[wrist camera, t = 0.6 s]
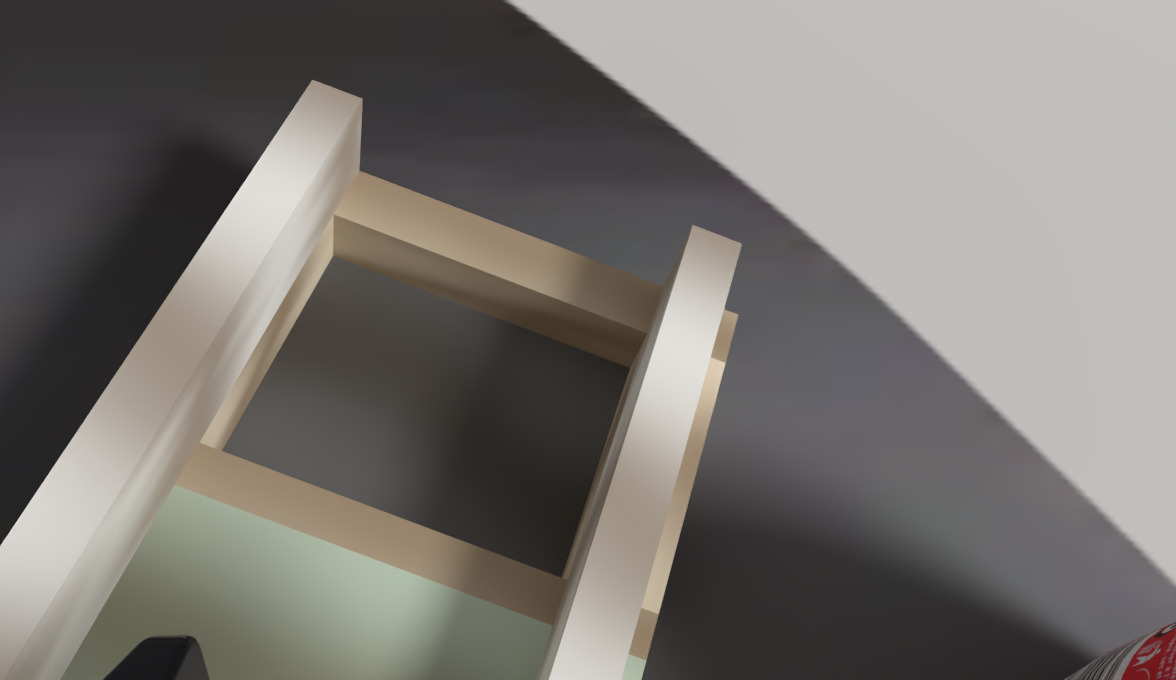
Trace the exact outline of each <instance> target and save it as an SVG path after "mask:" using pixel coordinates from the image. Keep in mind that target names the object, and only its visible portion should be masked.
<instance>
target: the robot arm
mask: <svg viewBox="0 0 1176 680" xmlns="http://www.w3.org/2000/svg"><path fill="white" fill-rule="evenodd" d="M103 680H210V678H209V674H208V671H207V668H206V664H205V661H204V657H203V654H202V650H201V647H200V645H199V643H198V641H197V640H196V638H194V637H193V636H190V635H159V636H150V637H148V638H146V639H144V640H143V641H141V642H140V643H139V644H138V645H137V646H136V647H135V648H134V649H133V650H132V651H131V652H130V653H129V654H128V655H127V656H126V657H125V658H124V659H123V660H122V661H121V662H120V663H119V664H118V665H117V666H116V667H115V668H114V669H113V670H112V671H111V672H110V673H109V674H108V675H107V676H106V677H105V678H104V679H103Z"/></svg>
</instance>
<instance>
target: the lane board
mask: <svg viewBox="0 0 1176 680" xmlns="http://www.w3.org/2000/svg"><path fill="white" fill-rule="evenodd" d="M362 100H363V99H361V98H359V97H356V96H354V95H351V94H348V93H346V92H343V91H341V90H338V89H335V88H333V87H330V86H327V85H325V84H322V83H320V82H317V81H314V80H312V82H311V83H310V85H309V86H308V88H307V89H306V91H305V92H304V93H303V95H302V96H301V98H300V99H299V101H298V102H297V104H296V105H295V107H294V108H293V110H292V111H291V113H290V114H289V116H288V117H287V119H286V120H285V122H284V123H283V125H282V126H281V128H280V129H279V131H278V132H277V134H276V135H275V137H274V138H273V140H272V141H271V143H270V144H269V146H268V147H267V149H266V150H265V152H264V153H263V155H262V156H261V158H260V159H259V161H258V162H257V164H256V165H255V167H254V168H253V170H252V171H251V173H250V174H249V176H248V177H247V179H246V180H245V182H244V183H243V185H242V186H241V188H240V189H239V190H238V192H237V193H236V195H235V196H234V198H233V199H232V201H231V202H230V204H229V205H228V207H227V208H226V210H225V211H224V213H223V214H222V216H221V217H220V219H219V220H218V222H217V223H216V225H215V226H214V228H213V229H212V231H211V232H210V234H209V235H208V237H207V238H206V240H205V241H204V243H203V244H202V246H201V247H200V249H199V250H198V252H197V253H196V255H195V256H194V258H193V259H192V261H191V262H190V264H189V265H188V267H187V268H186V270H185V271H184V273H183V274H182V276H181V277H180V279H179V280H178V282H177V283H176V285H175V286H174V287H173V289H172V290H171V292H170V293H169V295H168V296H167V298H166V299H165V301H164V302H163V304H162V305H161V307H160V308H159V310H158V311H157V313H156V314H155V316H154V317H153V319H152V320H151V322H150V323H149V325H148V326H147V328H146V329H145V331H144V332H143V334H142V335H141V337H140V338H139V340H138V341H137V343H136V344H135V346H134V347H133V349H132V350H131V352H130V353H129V355H128V356H127V358H126V359H125V361H124V362H123V364H122V365H121V367H120V368H119V370H118V371H117V373H116V374H115V376H114V377H113V379H112V380H111V382H110V383H109V385H108V386H107V387H106V389H105V390H104V392H103V393H102V395H101V396H100V398H99V399H98V401H97V402H96V404H95V405H94V407H93V408H92V410H91V411H90V413H89V414H88V416H87V417H86V419H85V420H84V422H83V423H82V425H81V426H80V428H79V429H78V431H77V432H76V434H75V435H74V437H73V438H72V440H71V441H70V443H69V444H68V446H67V447H66V449H65V450H64V452H63V453H62V455H61V456H60V458H59V459H58V461H57V462H56V464H55V465H54V467H53V468H52V470H51V471H50V473H49V474H48V476H47V477H46V479H45V480H44V482H43V483H42V484H41V486H40V487H39V489H38V490H37V492H36V493H35V495H34V496H33V498H32V499H31V501H30V502H29V504H28V505H27V507H26V508H25V510H24V511H23V513H22V514H21V516H20V517H19V519H18V520H17V522H16V523H15V525H14V526H13V528H12V529H11V531H10V532H9V534H8V535H7V537H6V538H5V540H4V541H3V543H2V544H1V546H0V680H103V679H104V678H105V677H106V676H107V675H108V674H109V673H110V672H111V671H112V670H113V669H114V668H115V667H116V666H117V665H118V664H119V663H120V662H121V661H122V660H123V659H124V658H125V657H126V656H127V655H128V654H129V653H130V652H131V651H132V650H133V649H134V648H135V647H136V646H137V645H138V644H139V643H140V642H141V641H143V640H144V639H146V638H148V637H150V636H159V635H190V636H193V637H194V638H196V640H197V641H198V643H199V645H200V647H201V650H202V654H203V657H204V661H205V664H206V668H207V671H208V674H209V678H210V680H641V679H642V675H643V672H644V668H645V664H646V660H647V656H648V653H649V649H650V645H651V641H652V638H653V634H654V630H655V626H656V623H657V619H658V615H659V611H660V608H661V604H662V600H663V596H664V592H665V589H666V585H667V581H668V577H669V574H670V570H671V566H672V562H673V559H674V555H675V551H676V547H677V544H678V540H679V536H680V532H681V529H682V525H683V521H684V517H685V513H686V510H687V506H688V502H689V498H690V495H691V491H692V487H693V483H694V480H695V476H696V472H697V468H698V465H699V461H700V457H701V453H702V450H703V446H704V442H705V438H706V434H707V431H708V427H709V423H710V419H711V416H712V412H713V408H714V404H715V401H716V397H717V393H718V389H719V386H720V382H721V378H722V374H723V370H724V367H725V363H726V359H727V355H728V352H729V348H730V344H731V340H732V337H733V333H734V329H735V325H736V322H737V318H738V315H737V314H735V313H732V312H729V311H727V310H724V307H725V303H726V300H727V296H728V293H729V289H730V285H731V282H732V278H733V274H734V271H735V267H736V264H737V260H738V256H739V253H740V249H741V246H742V244H741V243H738V242H736V241H733V240H731V239H728V238H725V237H723V236H720V235H718V234H715V233H712V232H710V231H707V230H704V229H702V228H699V227H697V226H694V225H693V226H692V228H691V230H690V232H689V234H688V236H687V238H686V240H685V242H684V244H683V246H682V248H681V250H680V252H679V254H678V256H677V258H676V261H675V263H674V265H673V267H672V269H671V271H670V273H669V275H668V277H667V279H666V281H665V283H664V285H663V286H661V285H658V284H656V283H653V282H650V281H648V280H645V279H643V278H640V277H637V276H635V275H632V274H629V273H627V272H624V271H622V270H619V269H616V268H614V267H611V266H608V265H606V264H603V263H601V262H598V261H595V260H593V259H590V258H587V257H585V256H582V255H580V254H577V253H574V252H572V251H569V250H566V249H564V248H561V247H558V246H556V245H553V244H551V243H548V242H545V241H543V240H540V239H537V238H535V237H532V236H530V235H527V234H524V233H522V232H519V231H516V230H514V229H511V228H509V227H506V226H503V225H501V224H498V223H495V222H493V221H490V220H488V219H485V218H482V217H480V216H477V215H474V214H472V213H469V212H466V211H464V210H461V209H459V208H456V207H453V206H451V205H448V204H445V203H443V202H440V201H438V200H435V199H432V198H430V197H427V196H424V195H422V194H419V193H417V192H414V191H411V190H409V189H406V188H403V187H401V186H398V185H396V184H393V183H390V182H388V181H385V180H382V179H380V178H377V177H374V176H372V175H369V174H367V173H364V172H361V171H359V165H360V143H361V122H362Z"/></svg>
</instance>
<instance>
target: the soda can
mask: <svg viewBox="0 0 1176 680" xmlns="http://www.w3.org/2000/svg"><path fill="white" fill-rule="evenodd" d="M1064 680H1176V622H1175V623H1173V624H1170V625H1168V626H1166V627H1164V628H1161V629H1159V630H1157V631H1154V632H1152V633H1150V634H1147V635H1145V636H1143V637H1141V638H1138V639H1136V640H1134V641H1132V642H1130V643H1127V644H1125V645H1123V646H1121V647H1118V648H1116V649H1114V650H1112V651H1110V652H1107V653H1105V654H1104V655H1102V656H1100V657H1099V658H1097V659H1096V660H1094V661H1093V662H1091V663H1089V664H1088V665H1086V666H1085V667H1083V668H1082V669H1080V670H1078V671H1077V672H1075V673H1074V674H1072V675H1070V676H1069V677H1067V678H1066V679H1064Z"/></svg>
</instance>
